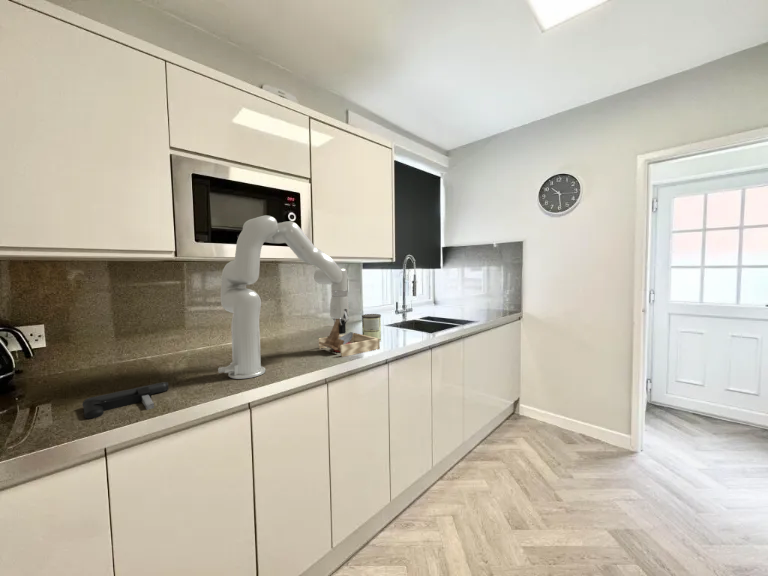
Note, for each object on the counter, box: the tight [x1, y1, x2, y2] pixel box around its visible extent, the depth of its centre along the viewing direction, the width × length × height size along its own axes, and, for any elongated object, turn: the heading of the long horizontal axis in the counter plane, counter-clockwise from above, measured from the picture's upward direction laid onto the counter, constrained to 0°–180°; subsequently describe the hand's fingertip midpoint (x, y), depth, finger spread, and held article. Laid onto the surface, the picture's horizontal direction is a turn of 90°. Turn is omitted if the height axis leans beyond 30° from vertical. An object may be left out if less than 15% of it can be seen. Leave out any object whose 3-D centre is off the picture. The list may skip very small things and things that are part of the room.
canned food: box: [333, 331, 354, 353], centre depth 154 cm, size 11×10×10 cm
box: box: [318, 332, 381, 357], centre depth 156 cm, size 21×21×5 cm
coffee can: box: [361, 313, 382, 342], centre depth 173 cm, size 10×10×14 cm
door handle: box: [82, 381, 169, 420], centre depth 92 cm, size 3×20×16 cm
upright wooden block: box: [318, 319, 344, 351], centre depth 150 cm, size 5×12×14 cm, turn 39°
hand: (340, 332), depth 152 cm, fingers closed on upright wooden block, 3 cm apart
